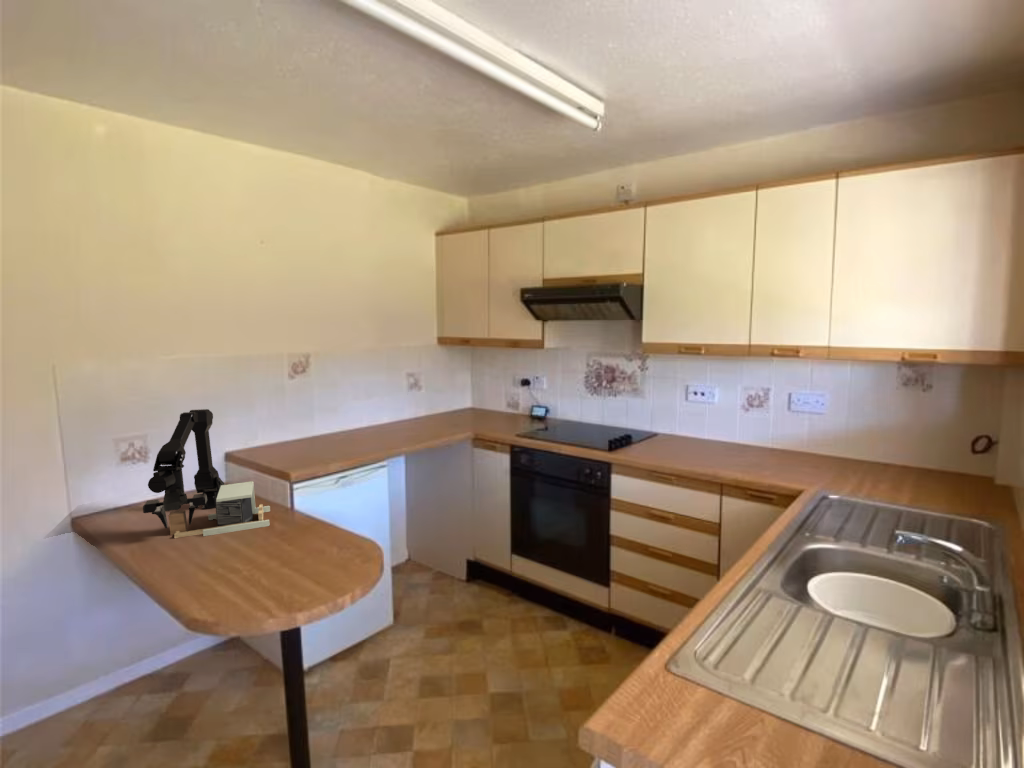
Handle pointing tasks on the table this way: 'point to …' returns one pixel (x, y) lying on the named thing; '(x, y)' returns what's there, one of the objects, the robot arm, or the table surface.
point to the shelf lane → (231, 494)
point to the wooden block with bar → (180, 526)
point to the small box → (234, 511)
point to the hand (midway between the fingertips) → (178, 526)
